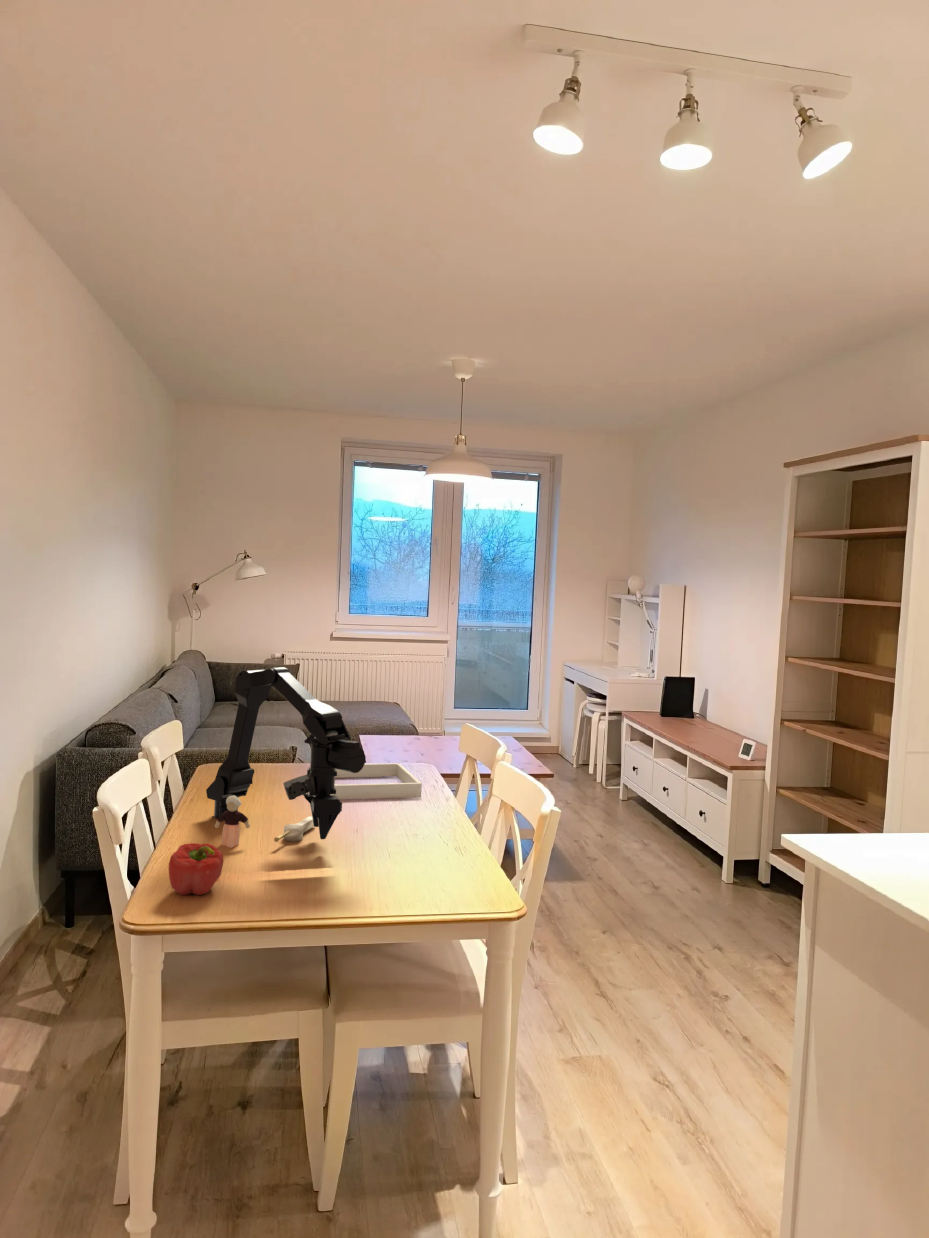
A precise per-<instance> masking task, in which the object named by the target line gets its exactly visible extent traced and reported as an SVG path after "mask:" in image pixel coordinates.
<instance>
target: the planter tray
mask: <svg viewBox="0 0 929 1238" xmlns="http://www.w3.org/2000/svg"><path fill="white" fill-rule="evenodd" d="M335 770H336V771H337V776H335V779H337V778H338V779H339V778H381V777H382V776H392V777H396V778H398V779H399V781H401V782H399V783H398V782H395V783H392V782H391V783H352V784H351V783H350V784H346V783H345V784H337V783H335V787H334V788H335V789H336V794H330V795H336V796H337V797H338V798H339V799H340V800H366V799H367V800H369V799H398V798H399V799H401V798H421V797H422V790H423V789H422V788H423V784H422V782H421V781H420V780H419V779H417V778H416V776H414V775H413V774H412V773H411V772H410V771H408V770H407V769H406V768H405V767H404V766H403V765H402V764H401V763H400V762H399V763H390V762H389V763H365V764H364V766H363V768H362V769H361V770H360V771H359V772H358V773H352V772H347V771H343V770H339V769H335ZM382 778H383V777H382Z"/></svg>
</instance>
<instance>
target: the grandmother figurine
mask: <svg viewBox="0 0 929 1238" xmlns="http://www.w3.org/2000/svg"><path fill="white" fill-rule="evenodd" d="M226 804H227V809H228V811H225V812H223V813H222V814H221V815H220V817H219V818H216V819H217V820H216V822H215V824H214V828H215V829H218V828H220V825H221V823H222V822H223V823H224V824H223V826H222V831H221V833H222V834H221V840H220V841H221V843H220V844H221V846H225V847H227V848H234V847H236V846H239V845H240V837H241V836H240V834H241V833H240V827H241V826H240V822H241V823H242V824H244V826H245V828H246V829H249V828H250V827H251V825H250V824H249V822H250V821H249V818H248V817H247V815H245V814H244V813H242V811H241V812H240V811H239V807H240V806H242V802H241V800H240V797H239V798H238V797H236V796H235V795H233V796H229V797H228V798H227V800H226ZM237 809H238V811H236V810H237Z"/></svg>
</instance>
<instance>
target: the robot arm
mask: <svg viewBox="0 0 929 1238" xmlns="http://www.w3.org/2000/svg"><path fill="white" fill-rule="evenodd" d="M234 685H235V686H234V694H235V697H236V699H237V702H238V705H237V709H236V714H235V720H234V723H233V730H232V735H231V739H230V744H229V747H228V748H229V749H228V754H227V757H226V759H224V761H223V762H222V763H221V764H220V766H219V767H218V770H217V772H216V774H215V779H214V780H213V781H212V782H211V784H210V785H209V786H208V787H207V788H206V790H205V791H206V792H205V793H206V797H207V799H209V800H212V801H214V812H213V815H212V816H211V818H216V819H218V818H219V817H220V815H221V814H222V813H223V812H225V811H228V809H227V804H226V800H227V798H228V797H229V796H233V795H235V796H236V797H238V798H239V799H240V797H245V796H247V794H248V791H249V788H250V787H251V785H253V778H254V774H255V769H254V768H252V767H251V765H250V762H249V757H250V751H251V748H252V743H253V738H254V734H255V728H256V724H257V721H258V714H259V709H260V706H262V704H263V703H264V701H266V699H267V698H268V697H269V695H270V691H271V689H272V687H274V688H275V690H276V691H277V692H279V694H280V695H282V696H283V697H284V699H285V700H286V701H287V702H288V703H289V704H290V705H292V706H293V708H294V709H295V710H296V711H297V712H298V713H299V714H300V715H301V717H302V724H303V726H305V728H306V730H307V731H308V732H309V734H310V735H309V736H308V737H307V738H305V739H304V740H303V741H304V743H305V744H307V745H311V746H310V762H309V763H310V764H309V767H308V768H307V769H306V774H304V775H300V776H298V777H294V778H291V779H289V780H287V781H285V782H283V783H282V784H283V786H284V791H285V793H286V794H285V795H286V797H287V799H288V800H289V801H292V800H296V799H297V798H299V797H301V796H303V797H304V799H305V800H306V801H307V802H308V803H309V804H310V805H309V806H310V810H311V811H310V812H311V816H312V818H313V824H314V828H318V832H319V837H320V838H319V839H320V840H325V839H326V838H327V836H328V834H329V832H330V831H331V829H332V827H333V824H334V823H335V821H336V819H337V818H338V815H340V813H341V812H342V811H343V802H342V800H341V799H339V798H338V797H337V796H336V795H330V794H336V789H335V788H334V787H335V784H336V782H335V781H336V778H335V776H337V771H336V770H335V769H339V770H343V771H347V772H352V773H358V772H359V771H360V770H361V769H362V768H363V766H364V764H366V754H365V751H364V749H363V748H361V743H360V741H356V740H353V741H352V740H351V739H352V737H351V736H350V733H349V731H348V728H347V726H346V724H345V723H344V720H343V715H342V713H341V712H340V711H338V709H336V708H335V707H333V706H331V705H330V704H328V703H325V702H322V701H320V700H319V699H317V698H316V697H315V696H314V695H313V694H312V693H311V692H310V691H309V690H308V689H307V688H306V687H304V685H302V684H301V683H300V682H299V680H298V679H296V678H295V677H294V675H292V673H291V671H290V670H289V668H287V667H284V666H279V667H277V666H276V667H271V668H268V669H262V668H261V669H252V670H251V669H248V670H241V671H239V672H238V674H237V675H236V678H235V684H234ZM236 811H239V808H238V809H237V810H236Z"/></svg>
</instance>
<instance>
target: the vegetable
mask: <svg viewBox="0 0 929 1238" xmlns="http://www.w3.org/2000/svg"><path fill="white" fill-rule="evenodd" d="M223 865H224V854H223V852H222V851H221V850H220V849H218V848H217V847H216V846H215V845H213V844H210V843H183V844H181V845H179V846H178V848H177V850H176V851H174V852H173V853H172V854H171V856H170V859H169V863H168V876H169V883H170V886H171V888H172V889H173V890H174V892H176V893H177V894H178V895H180V896H181V895H182V896H186V895H189V894H194V895H196V896H197V895H198V896H201V895H204V894H206V893H209V892H210V891H211V889H212V888H213V886H214V884H216V882H217V881H218V880H219V878H220V876H221V873H222V869H223Z"/></svg>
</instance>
